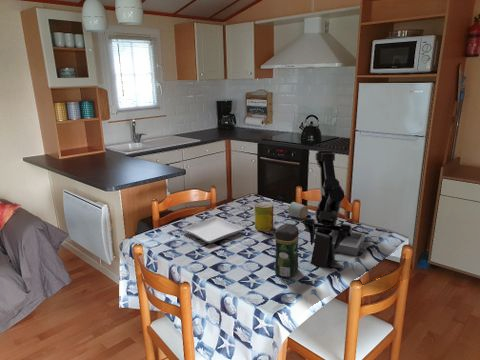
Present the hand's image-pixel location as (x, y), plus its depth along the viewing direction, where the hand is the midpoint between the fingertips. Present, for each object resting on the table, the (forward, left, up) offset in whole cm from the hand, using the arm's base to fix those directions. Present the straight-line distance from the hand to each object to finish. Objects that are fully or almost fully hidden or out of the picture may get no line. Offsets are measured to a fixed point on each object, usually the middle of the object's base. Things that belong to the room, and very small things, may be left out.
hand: (322, 246), depth 146 cm
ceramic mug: (-26, +45, -7) cm, 53 cm away
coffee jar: (-10, -13, -7) cm, 18 cm away
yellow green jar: (-36, +23, -7) cm, 43 cm away
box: (+4, +20, -7) cm, 22 cm away
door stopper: (0, +1, -7) cm, 7 cm away
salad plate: (-55, +6, -8) cm, 56 cm away
